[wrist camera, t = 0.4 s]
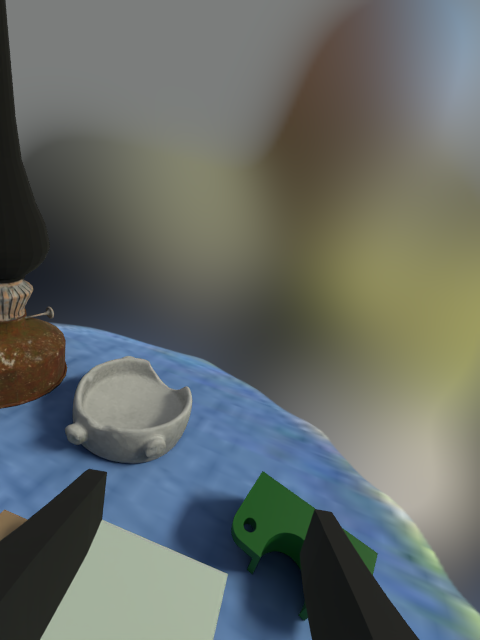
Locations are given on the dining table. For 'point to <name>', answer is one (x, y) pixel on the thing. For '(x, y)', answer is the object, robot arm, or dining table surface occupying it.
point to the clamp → (280, 525)
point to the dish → (128, 412)
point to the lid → (138, 593)
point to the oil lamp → (21, 265)
